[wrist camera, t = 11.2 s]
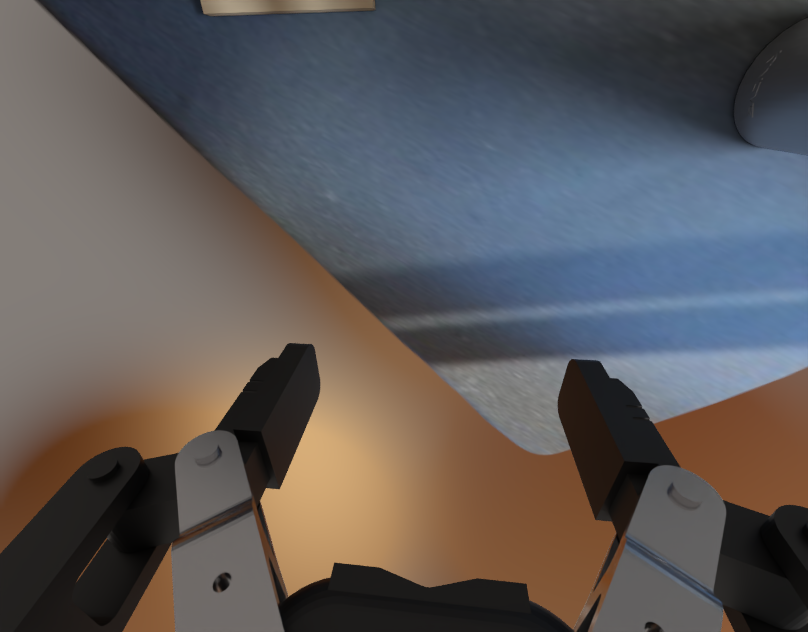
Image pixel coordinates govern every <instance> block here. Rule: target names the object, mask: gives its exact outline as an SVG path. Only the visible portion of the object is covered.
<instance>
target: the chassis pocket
mask: <svg viewBox="0 0 808 632" xmlns="http://www.w3.org/2000/svg"><path fill="white" fill-rule="evenodd" d="M201 5H202V9H203V13H204V14H206V15H209V16H228V15H257V14H286V13H315V12H343V11H372V10H375V0H201Z"/></svg>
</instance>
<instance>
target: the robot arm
mask: <svg viewBox="0 0 808 632" xmlns="http://www.w3.org/2000/svg"><path fill="white" fill-rule="evenodd" d="M734 118H735V125H736V127H737V129H738V131H739V134H740V135H741V136H742V137H743V138H744V139H745V140H746V141H747V142H749V143H751V144H752V145H754V146H757V147H761V148H766V149H772V150H778V151H784V152H790V153H796V154H800V155H806V156H808V18H806V19H804V20H801V21H799V22H798V23H796V24H794V25H793V26H791V27H790V28H788V29H787V30H785V31H783V32H782V33H781V34H780V35H779V36H778V37H776V38H775V39H774V40H773V41H772V42H770V43H769V44H768V45H767V46H766V48H765V49H764V50H763V51H762V52H761V53H760V54H759V55H758V56H757V57H756V59H755V60H754V62H753V63H752V65H751V66H750V67H749V69H748V70H747V72H746V74H745V76H744V78H743V80H742V82H741V84H740V86H739V89H738V92H737V96H736V99H735V106H734ZM319 393H320V377H319V371H318V365H317V360H316V354H315V349H314V346H313V345H312V344H296V343H289V344H287V345H286V347H285V349H284V350H283V352H282V353H281V355H280V356H279V358H270V359H269V360H268V361H266V362H265V363H264V364H263V365H261V366H260V367H258V369H257V370H256V372H255V373H254V374H253V376H252V377H251V379H250V382H248V383H247V384H246V386H245V387H244V389H243V392H241V393H240V395H239V396H238V397H237V399H236V400H235V402H234V403H233V405H232V406H231V408H230V409H229V410H228V412H227V413H226V415H225V416H224V418H223V419H222V421H221V422H220V424H219V425H218V427H217V428H216V429H215V430H214V431H211V432H207V433H204V434H202V435H199V436H198V437H196V438H194V439H193V440H191V441H190V442H188V443H187V444H186V445H185V446H184V447H183V448H182V450H181V451H180V452H179V453H176V454H172V455H166V456H161V457H156V458H150V459H145V460H143V458H142V457H141V455H140V453H139V452H138V451H137V450H136V449H134V448H131V447H119V448H114V449H111V450H108V451H105V452H103V453H101V454H99V455H97V456H95V457H94V458H92V459H90V460H89V461H87V462H86V463H85V464H83V465H82V466H81V467H80V468H79V469H78V470H77V471H76V472H75V473H74V474H73V475H72V476H71V477H70V479H69V480H68V481H67V482H66V483H65V484H64V485H63V486H62V487H61V488H60V490H59V491H58V492H57V493H56V494H55V495H54V496H53V497H52V498H51V499H50V500H49V501H48V503H47V504H46V505H45V506H44V507H43V508H42V509H41V510H40V511H39V512H38V514H37V515H36V516H35V517H34V518H33V519H32V520H31V521H30V522H29V523H28V524H27V525H26V526H25V528H24V529H23V530H22V531H21V532H20V533H19V534H18V535H17V536H16V537H15V539H14V540H13V541H12V542H11V543H10V544H9V545H8V546H7V547H6V548H5V549H4V550H3V552H2V553H1V554H0V632H122V631H123V630H124V628H125V626H126V624H127V622H128V621H129V619H130V617H131V615H132V614H133V612H134V610H135V608H136V606H137V604H138V603H139V601H140V599H141V597H142V596H143V594H144V592H145V590H146V588H147V587H148V585H149V583H150V581H151V579H152V577H153V576H154V574H155V572H156V570H157V569H158V567H159V565H160V563H161V561H162V560H163V558H164V556H165V554H166V552H167V551H168V549H169V547H170V545H171V543H172V542H173V543H172V550H171V556H172V576H173V595H174V614H175V632H721V626H722V619H723V609H724V611H725V613H726V615H727V617H728V619H729V621H730V623H731V625H732V627H733V629H734V631H735V632H808V508H804V507H801V506H796V505H784V506H781V507H779V508H778V509H777V510H776V511H775V512H774V513H773V514H772V515H771V516H768V515H765V514H762V513H759V512H756V511H753V510H750V509H747V508H744V507H741V506H738V505H735V504H732V503H729V502H727V501H724V500H722V499H721V497H720V495H719V494H718V493H717V492H716V491H715V489H714V488H713V487H711V485H709V484H708V483H707V482H706V481H705V480H703V479H702V478H700V477H699V476H697V475H696V474H693V473H692V472H690V471H688V470H685V469H682V468H681V467H680V466H679V464H678V463H677V461H676V459H675V458H674V456H673V455H672V453H671V451H670V450H669V448H668V447H667V445H666V443H665V442H664V440H663V439H662V437H661V435H660V434H659V432H658V431H657V429H656V427H655V426H654V424H653V423H652V421H650V420H649V416H648V415H647V413H646V412H645V410H644V409H642V405H641V404H640V402H639V400H638V399H637V397H636V396H635V394H634V393H633V391H632V390H630V389H629V388H628V387H627V386H626V385H625V384H623V383H622V382H621V381H620V380H619V379H614V378H609V376H608V374H607V372H606V371H605V369H604V367H603V365H602V364H601V363H600V362H599V361H596V360H578V359H571V360H570V361H569V363H568V366H567V369H566V373H565V376H564V379H563V383H562V386H561V389H560V393H559V397H558V413H559V417H560V420H561V423H562V426H563V429H564V432H565V434H566V437H567V440H568V443H569V446H570V449H571V451H572V454H573V457H574V460H575V463H576V466H577V469H578V471H579V474H580V477H581V480H582V483H583V486H584V488H585V491H586V494H587V497H588V500H589V503H590V506H591V508H592V511H593V514H594V517H595V520H602V521H612V522H613V525H614V527H615V530H616V534H615V536H614V537H613V540H612V542H611V544H610V547H609V549H608V552H607V554H606V557H605V559H604V561H603V564H602V566H601V569H600V571H599V573H598V576H597V578H596V581H595V583H594V586H593V588H592V590H591V593H590V595H589V597H588V600H587V602H586V604H585V606H584V608H583V610H582V612H581V614H580V616H579V618H578V620H577V623H576V625H575V627H574V629H571V628H570V627H569V626H568V625H567V624H566V623H565V622H563V621H562V620H561V619H560V618H558V617H557V616H556V615H554V614H553V613H551V612H550V611H549V610H547V609H545V608H543V607H542V606H540V605H538V604H536V603H534V602H532V601H529V597H528V591H527V584H523V583H513V582H505V581H496V580H486V579H472V580H467V581H462V582H457V583H452V584H447V585H442V586H436V587H431V588H429V587H424V586H421V585H419V584H416V583H414V582H412V581H409V580H407V579H405V578H402V577H400V576H398V575H396V574H393V573H391V572H388V571H386V570H384V569H382V568H377V567H369V566H360V565H351V564H342V563H334V566H333V570H332V574H331V578H326V579H322V580H320V581H317V582H314V583H311V584H309V585H307V586H305V587H303V588H301V589H300V590H298V591H297V592H295V593H293V594H292V595H290V596H289V597H288V594H287V591H286V587H285V584H284V581H283V578H282V575H281V572H280V569H279V565H278V562H277V559H276V555H275V551H274V548H273V544H272V541H271V537H270V534H269V530H268V526H267V523H266V519H265V516H264V512H263V509H262V505H261V502H260V499H261V497H262V495H263V493H264V491H265V489H266V488H272V489H280V487H281V485H282V483H283V480H284V478H285V475H286V473H287V471H288V468H289V466H290V464H291V461H292V459H293V457H294V454H295V452H296V449H297V447H298V445H299V442H300V440H301V438H302V435H303V433H304V431H305V428H306V426H307V424H308V421H309V419H310V417H311V414H312V412H313V409H314V407H315V405H316V402H317V400H318V397H319ZM106 538H108V539H107V540H106V542H105V543H104V545H103V546H102V547H101V549H100V550H99V551H98V553H97V554H96V556H95V557H94V558H93V560H92V561H91V563H90V564H89V566H88V567H87V569H86V570H85V571H84V573H83V574H82V576H81V577H80V578H79V580H78V581H77V579H78V577H79V576H80V574H81V573H82V572H83V570H84V569H85V567H86V566H87V564H88V563H89V562H90V560H91V559H92V557H93V556H94V555H95V553H96V552H97V550H98V549H99V547H100V546H101V545H102V543H103V542H104V540H105V539H106ZM76 581H77V583H76Z"/></svg>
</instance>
